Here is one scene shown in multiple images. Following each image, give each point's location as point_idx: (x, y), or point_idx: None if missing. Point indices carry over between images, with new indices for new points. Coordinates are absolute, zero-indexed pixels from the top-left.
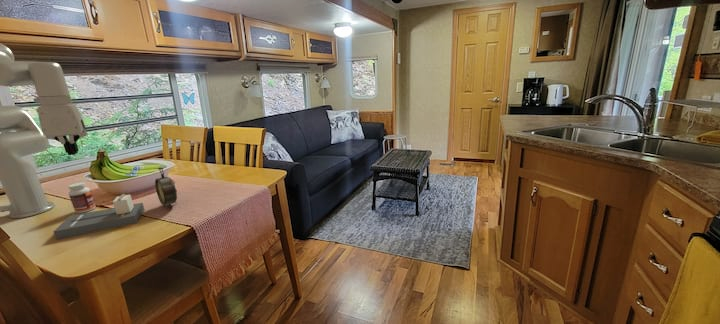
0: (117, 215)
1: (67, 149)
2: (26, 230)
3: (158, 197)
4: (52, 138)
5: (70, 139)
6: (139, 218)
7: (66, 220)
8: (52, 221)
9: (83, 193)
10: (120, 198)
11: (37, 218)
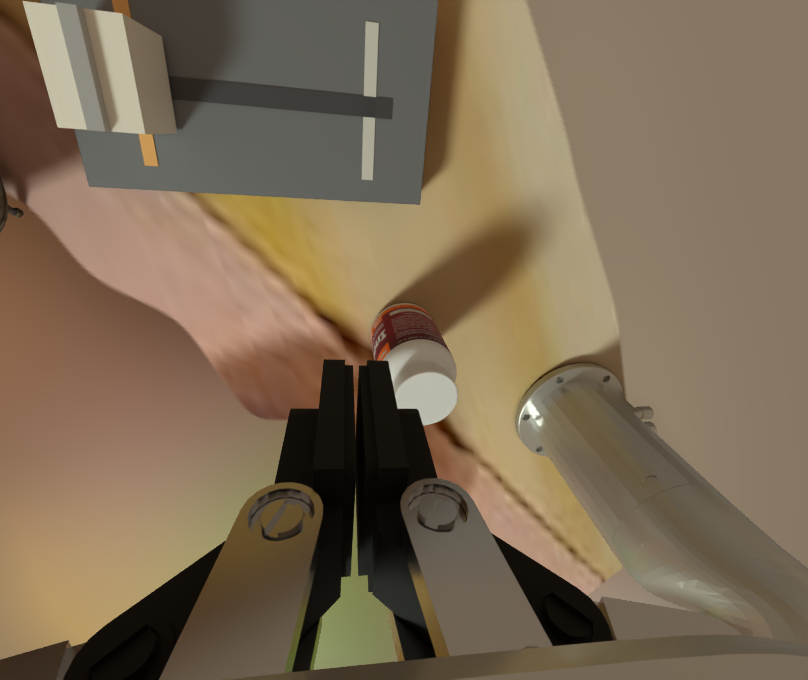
0: (159, 32)
1: (382, 404)
2: (556, 227)
3: (4, 210)
4: (636, 624)
5: (283, 568)
6: None
7: (418, 143)
8: (491, 271)
9: (394, 347)
10: (59, 12)
11: (544, 333)
